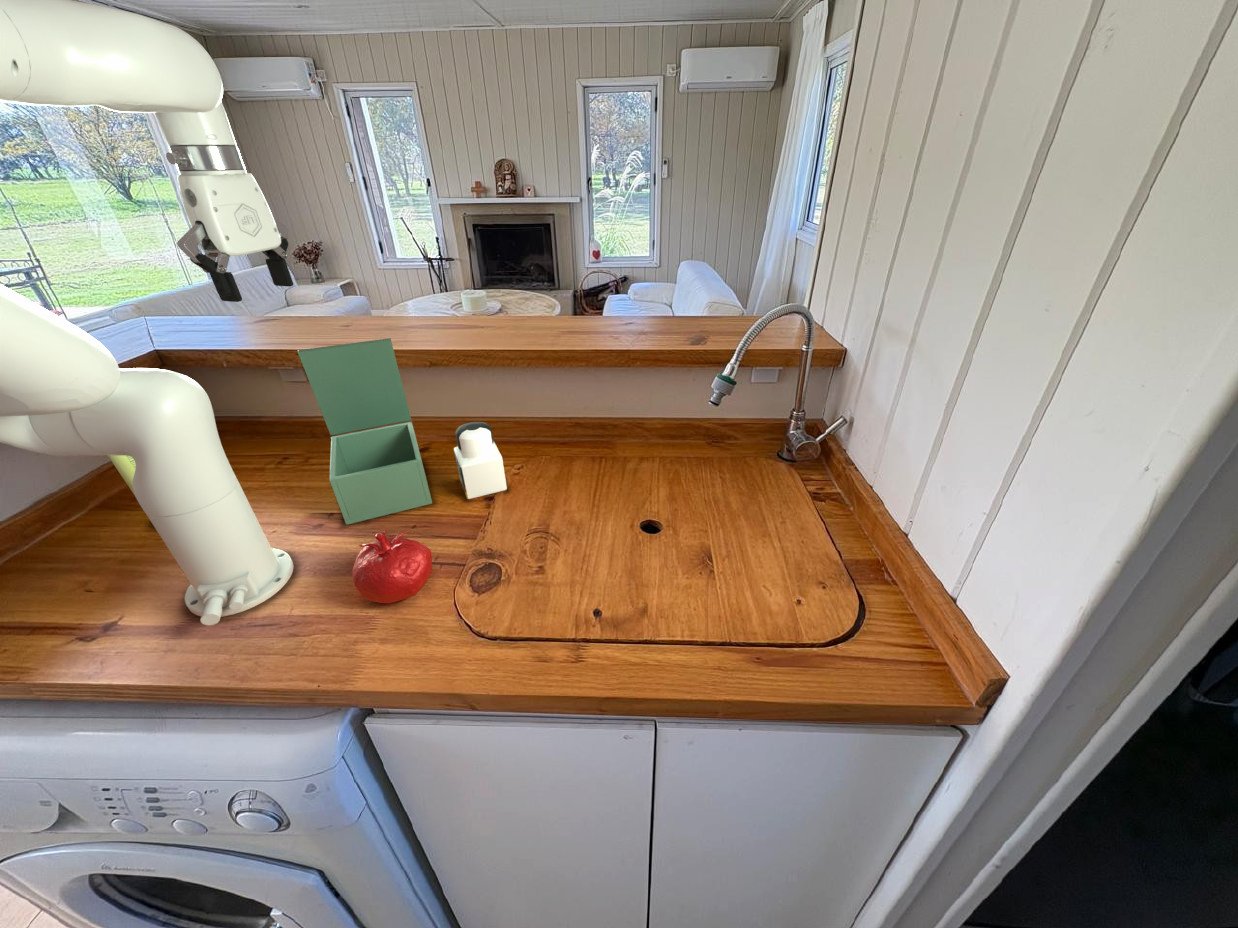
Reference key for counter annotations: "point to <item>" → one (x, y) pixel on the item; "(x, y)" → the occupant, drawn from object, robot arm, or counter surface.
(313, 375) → the lid
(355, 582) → the pomegranate
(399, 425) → the bin
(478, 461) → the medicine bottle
